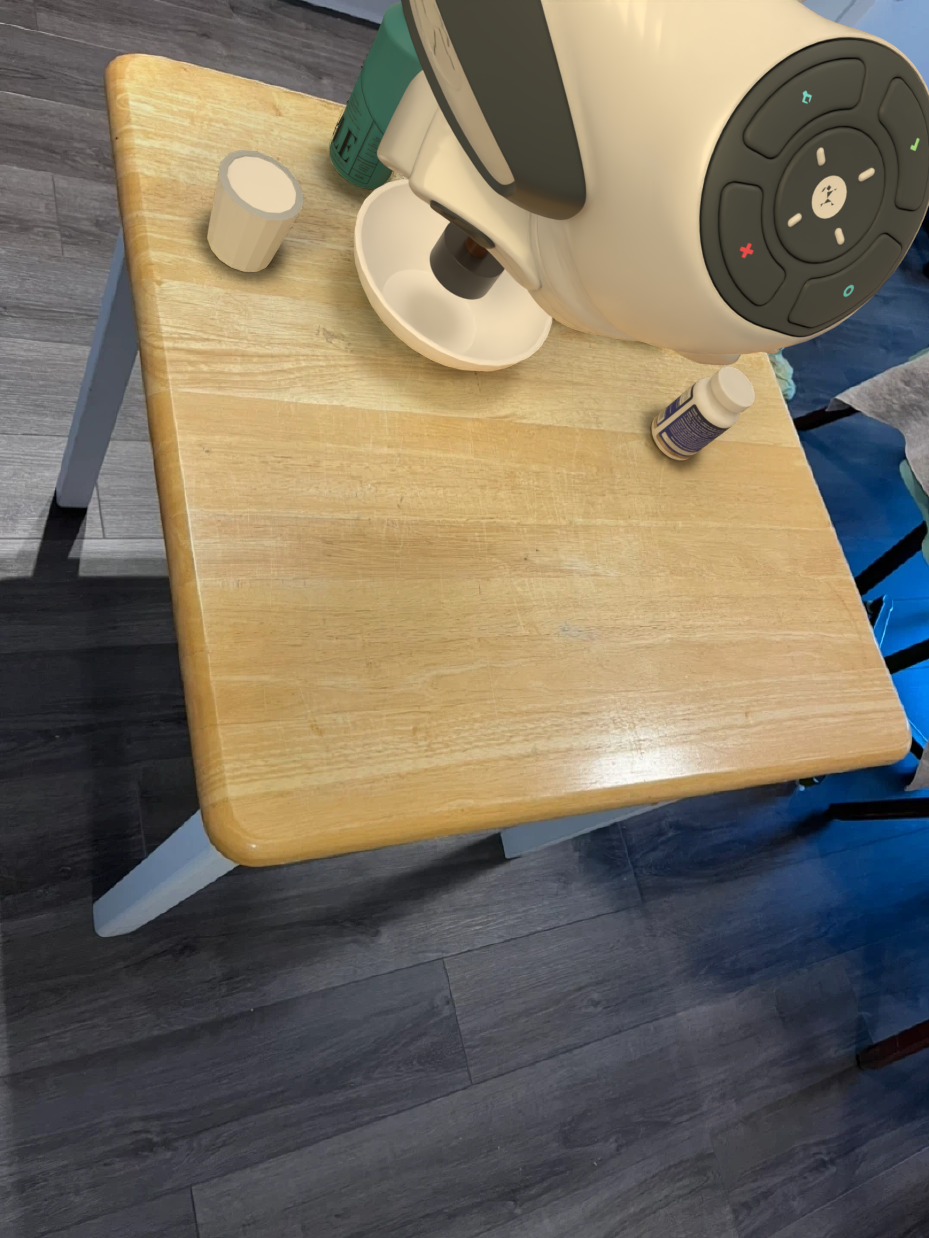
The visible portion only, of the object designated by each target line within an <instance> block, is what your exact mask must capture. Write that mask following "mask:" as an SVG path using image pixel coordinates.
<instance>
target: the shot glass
mask: <svg viewBox="0 0 929 1238" xmlns="http://www.w3.org/2000/svg"><path fill="white" fill-rule="evenodd" d="M304 196H305V195H304V192H303V189H302V187H301V184H300V182H299V180H298V179H297V178H296V176H295V175H294V173H292V172H291V170H290V169H289V168H288V167H287V166H286V165H284V164H283V163H282V162H280V161H278V160H277V159H276V158H274V157H273V156H270V155H267V154H265V153H263V152H260V151H258V150H249V149H239V150H236V151H231V152H229V153H227V154H226V155H225V157H224V158H223V159H222V160H221V161H220V163H219V168H218V174H217V180H216V185H215V190H214V195H213V201H212V207H211V213H210V217H209V222H208V228H207V236H206V240H207V243H208V245H209V247H210V250H211V251H212V253H213V254H214V256H216V257H217V259H218V260H219V261H221V262H222V263H223V264H225V265H227V266H228V267H230V268H231V269H234V270H237V271H240V272H242V273H243V272H244V273H258V272H260V271H262V270H265V269H266V268H267V267H268V266H269V265H270V263H271V262H272V260H273V259H274V257H275V256H276V254H277V252H278V250H279V249H280V247H281V245H282V244H283V242H284V240H285V238H286V236H287V235H288V233H289V232H290V230H291V228H292V227H293V224H294V222H295V221H296V219H297V217H298V216H299V214H300V212H301V210H302V209H303V206H304Z"/></svg>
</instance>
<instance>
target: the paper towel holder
mask: <svg viewBox="0 0 929 1238" xmlns="http://www.w3.org/2000/svg"><path fill="white" fill-rule="evenodd" d="M430 266H431V269H432V272H433V274H434V276H435V277H436V279H437V280H438V281H439V283H440V284H441V285H442V286H443V287H444V288H445V289H447V290H448V291H449V292H451V293H452V294H454V295H456V296H458V297H461V298H464V299H469V300H475V299H479V298H482V297H483V296H485V295H486V294H487V293H488V291H489V290H490V289H491V287H492V286H493V285H494V283H495V282H496V281H497V279H498V278H499V276H500V275H501V274H502V272H503V271H504V269H505V268H504V267H503V266H502V265H501V264H500V263H499V262H498V261H497V259H496V258H495V257H494V256H493V255H492V254H491V253H490V252H489V251H488V250H487V249H486V248H484V247H482V246H480V245H479V244H478V243H476V242H475V241H474V240H473V239H472V238H471V237H469V236H468V235H467V234H466V233H464V232H463V231H462V230H461V229H459V228H458V227H457V226H455V225H454V224H452V223H451V222H450V223H449V224H448V225H447V226H446V228H445V230H444V231H443V233H442V234H441V236H440V238H439V239H438V241H437V242H436V244H435V246H434V247H433V249H432V250H431V253H430Z"/></svg>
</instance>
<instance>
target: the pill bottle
mask: <svg viewBox="0 0 929 1238" xmlns="http://www.w3.org/2000/svg"><path fill="white" fill-rule="evenodd" d="M755 400H756V392H755V388H754V386H753V384H752V382H751V380H750V379H749V378H748V377H747V375H746V374H745V373H744V372H743V371H741V370H740V369H738V368H736V367H735V366H732V365H723V367H722V366H721V368H720V369H718V370H717V371H716V372H714V373H713V375H712V376H705V377H701V378H700V379H698V380H697V381H695V382H694V383H693V384H692V385H690V387H689V388H687V389H686V390H685V391H683V392H682V393H681V394H680V395H679V396H678V397H677V398H675V399H674V400H673V401H672V402H671V403H669V404H668V405H667V406H666V407H665V408H664V409H662V411H660V412H659V413H658V414H657V415H656V416H654V418H653V420H652V423H651V435H652V438H653V440H654V443H655V445H656V446H657V448H658V449H659V450H660V451H661V452H662V453H663V454H664V455H666V456H667V457H669V458H671V459H672V460H674V461H687V460H689V459H690V458H691V457H694V455H696V454H697V453H699V452H700V451H701V450H702V449H704V448H705V447H706V446H708V445H710V444H711V443H712V442H713V441H714V440H716V439H717V438H718V437H720V436H721V435H722V434H724V433H726V431H728V430H729V429H730V428H732V427H733V426H734V425H735V424H737V422H738V421H739V418H740V415H741V413H743V412H745V411H746V410H748V409H750V408H751V407H752V406H753V405H754V403H755Z"/></svg>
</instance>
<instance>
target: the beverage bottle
mask: <svg viewBox="0 0 929 1238" xmlns="http://www.w3.org/2000/svg"><path fill="white" fill-rule="evenodd" d="M368 48H369V49H368V53H367V54H365V57H364V59H363V62H362V65H360V68H361V70H360V71H359V75H358V77H357V80H356V81H355V84H354V86H353V89H352V91H351V94H350V96H349V99H348V100H346V104H345V108H344V109H342V111H341V112H340V115H339V118H338V120H337V122H336V124H335V127H334V130H333V132H332V136H331V140H330V142H329V144H328V146H329V147H328V148H329V158H330V162H331V164H332V166H333V167H334V169H335V171H336V172H337V173H338V174H339V175H340V176H341V177H342V178H343V179H345V180H346V181H347V182H348V183H350V184H352V185H354V186H356V187H359V188H361V189H366V190H375V189H377V188H379V187H381V186H382V185H384V184H386V183H388V182H391V180H392V176H393V175H394V173H395V172H394V171H392V170H391V169H389V168H388V167H386V166H385V165H384V164H383V163H382V162H381V161H380V160H379V159H378V156H377V150H378V147H379V145H380V142H381V140H382V138H383V136H384V134H385V131H386V129H387V127H388V125H389V123H390V120H391V118H392V116H393V114H394V112H395V110H396V108H397V106H398V104H399V102H400V100H401V98H402V97H403V95H404V93H405V91H406V89H407V87H408V86H409V84H410V82H411V81H412V80H413V79H414V78H415V76H416V75H417V74H418V73H420V72H421V71H422V70H423V69H422V67H421V64H420V62H419V59H418V57H417V54H416V51H415V49H414V46H413V43H412V40H411V37H410V34H409V30H408V27H407V23H406V20H405V16H404V12H403V7H402V3H401V1H398V2H395V3H392V4H390V5H389V6H388V7H387V8H386V9H385V11H384V13H383V16H382V21H381V22H380V25H379V28H378V30H377V32H376V34H375V37H374V39H373V40H372V43H371V45H369V47H368Z"/></svg>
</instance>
